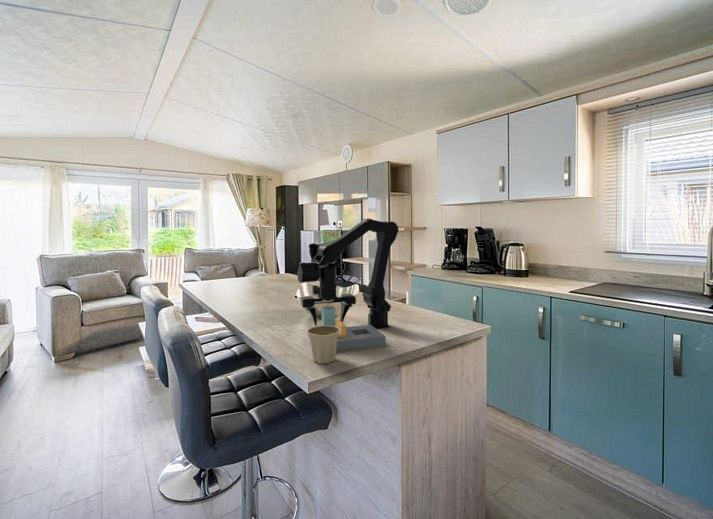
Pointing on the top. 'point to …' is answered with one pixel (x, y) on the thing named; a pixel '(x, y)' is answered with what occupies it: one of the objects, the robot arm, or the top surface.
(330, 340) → the flower pot
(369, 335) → the socket plate
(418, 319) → the top surface
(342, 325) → the orange block
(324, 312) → the plug
